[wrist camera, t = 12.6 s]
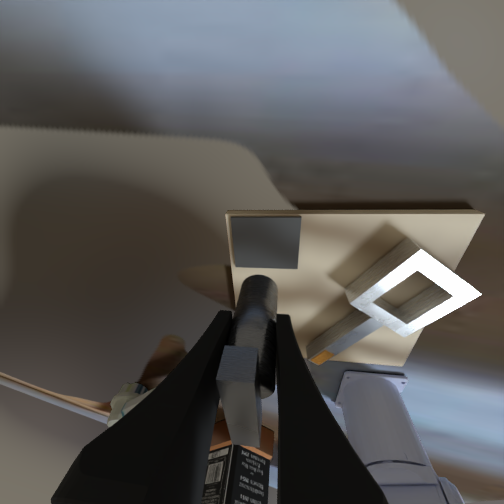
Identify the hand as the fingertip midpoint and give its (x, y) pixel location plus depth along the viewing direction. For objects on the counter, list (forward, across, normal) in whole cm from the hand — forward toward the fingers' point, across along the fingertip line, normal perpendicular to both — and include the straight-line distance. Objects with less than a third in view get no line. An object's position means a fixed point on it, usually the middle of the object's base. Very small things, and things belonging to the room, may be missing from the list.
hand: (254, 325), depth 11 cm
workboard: (+10, -6, +7) cm, 14 cm away
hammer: (+3, 0, 0) cm, 3 cm away
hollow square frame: (+9, -10, +8) cm, 16 cm away
